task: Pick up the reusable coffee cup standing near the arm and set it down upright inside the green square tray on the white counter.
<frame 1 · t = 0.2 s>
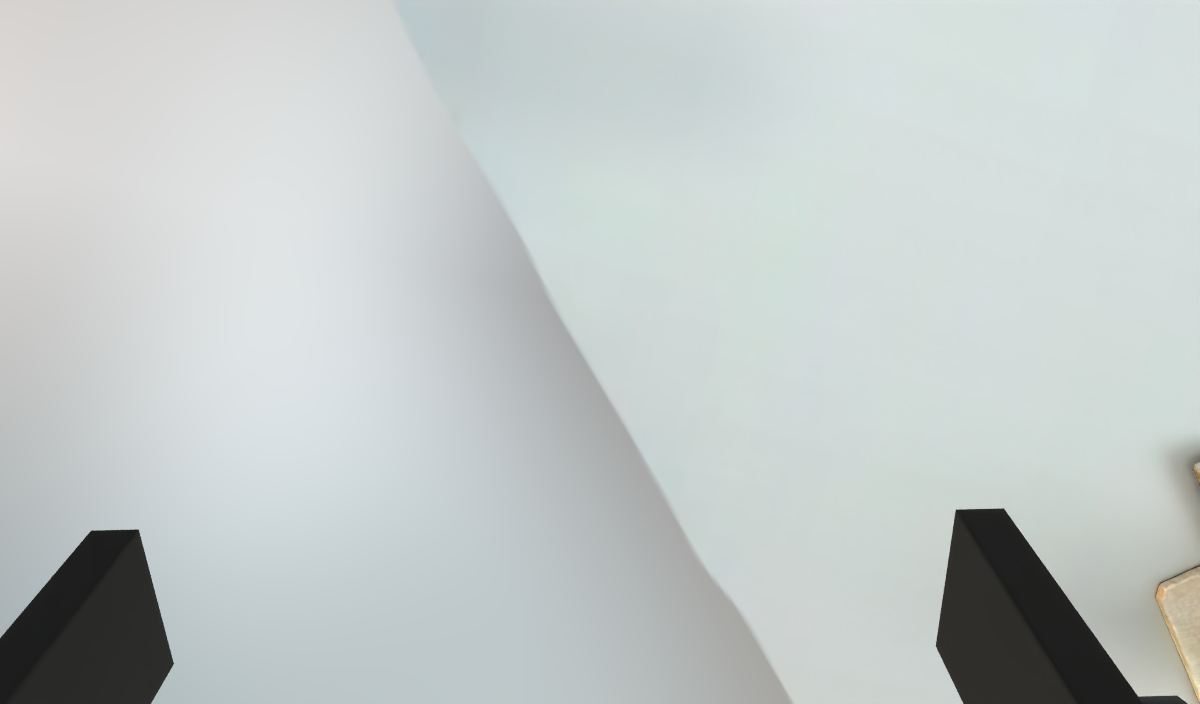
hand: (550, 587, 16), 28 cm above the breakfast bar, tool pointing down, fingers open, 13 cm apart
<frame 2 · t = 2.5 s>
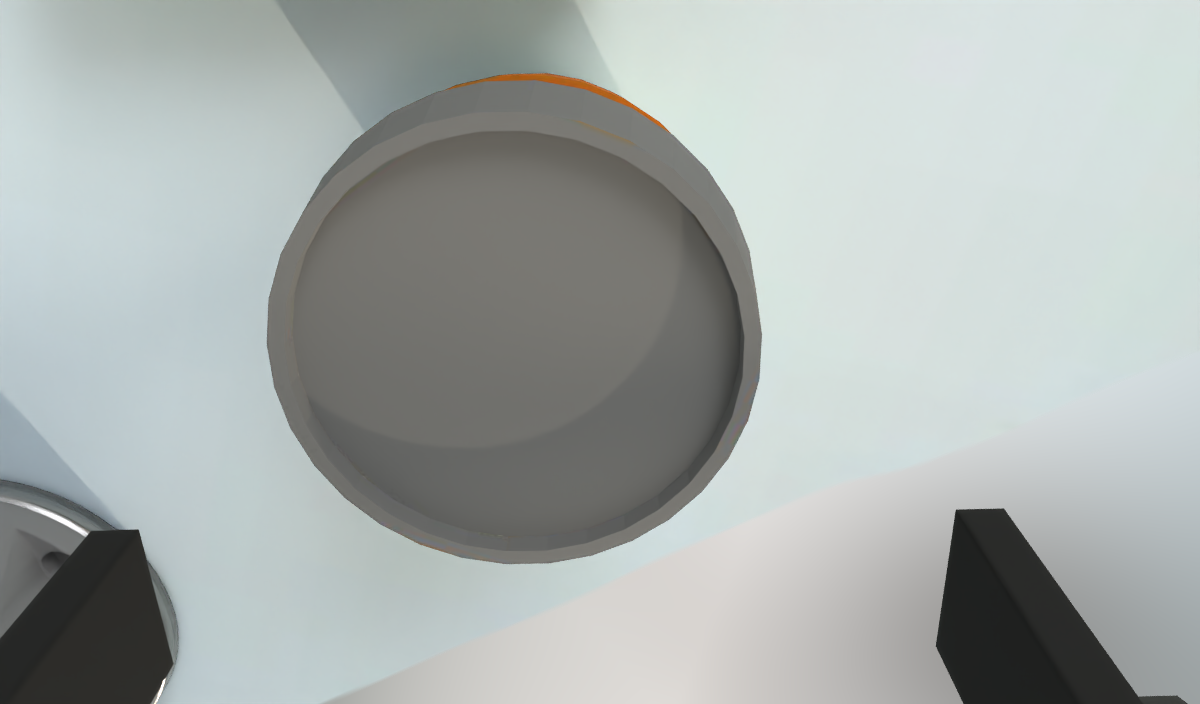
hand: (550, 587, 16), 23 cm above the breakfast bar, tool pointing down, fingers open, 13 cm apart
reusable coffee cup: (545, 200, 37), on the breakfast bar
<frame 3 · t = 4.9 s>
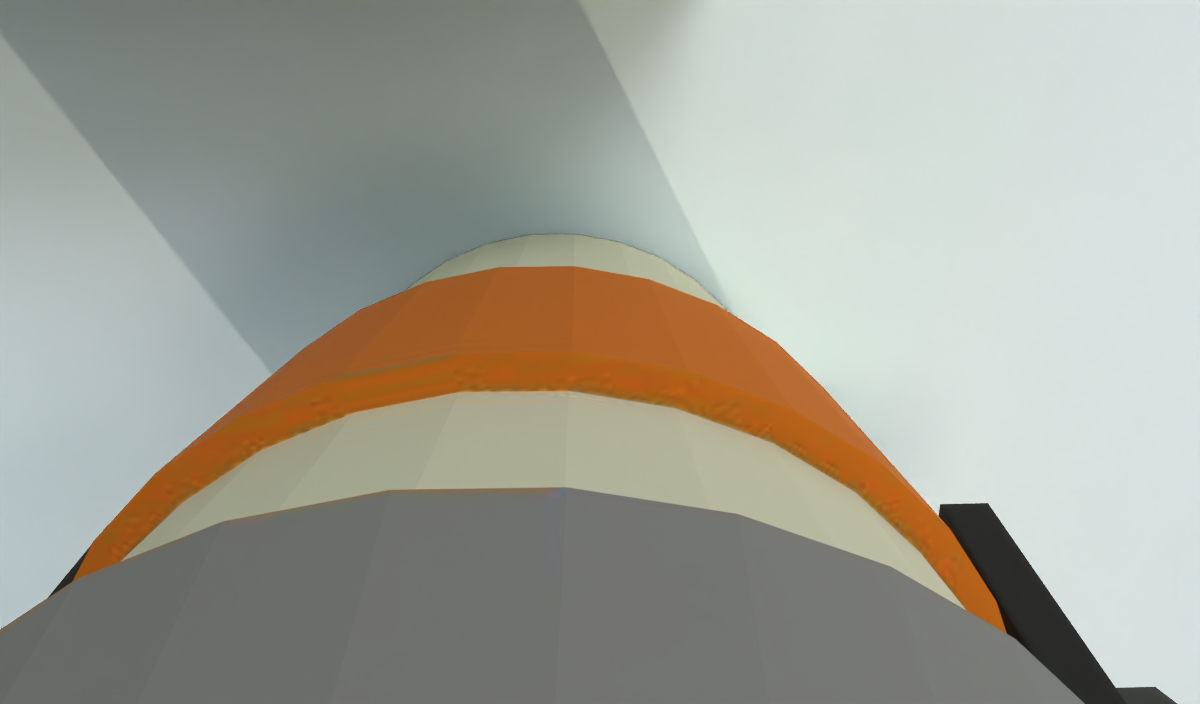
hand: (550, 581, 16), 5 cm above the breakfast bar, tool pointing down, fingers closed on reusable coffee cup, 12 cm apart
reusable coffee cup: (559, 429, 21), on the breakfast bar, touching gripper
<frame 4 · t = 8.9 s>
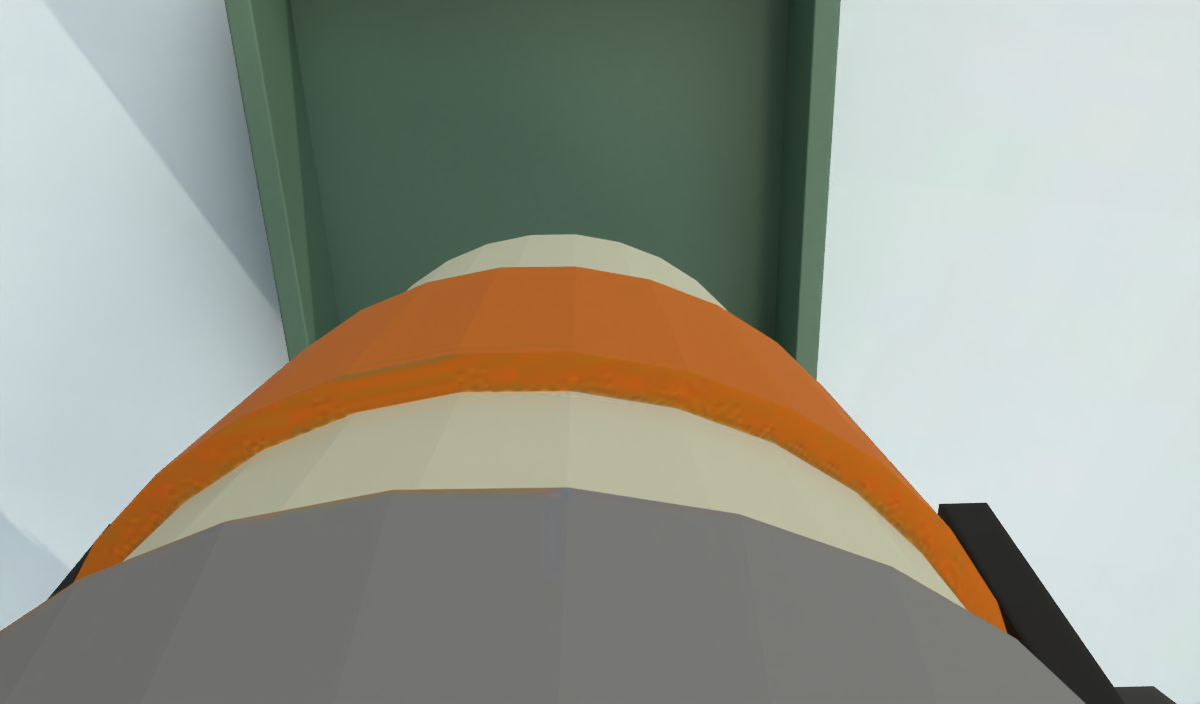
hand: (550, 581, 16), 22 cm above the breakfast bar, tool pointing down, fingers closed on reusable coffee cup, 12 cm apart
reusable coffee cup: (560, 430, 21), point 17 cm above the breakfast bar, touching gripper
green square tray: (549, 161, 35), on the breakfast bar
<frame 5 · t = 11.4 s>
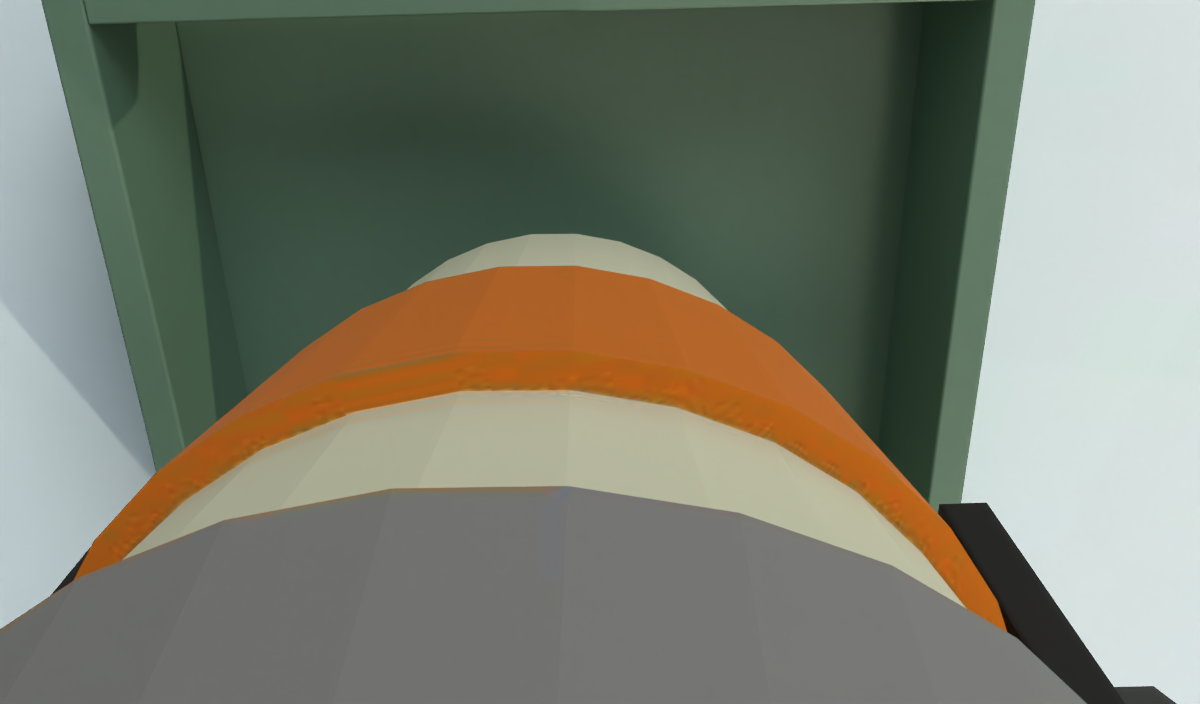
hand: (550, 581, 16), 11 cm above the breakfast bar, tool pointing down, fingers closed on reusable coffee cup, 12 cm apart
reusable coffee cup: (559, 429, 21), point 5 cm above the breakfast bar, touching gripper
green square tray: (565, 336, 25), on the breakfast bar
when the fingers open (6 cm above the breakfast bar, at t = 13.4 s): reusable coffee cup stays where it is, resting on green square tray.
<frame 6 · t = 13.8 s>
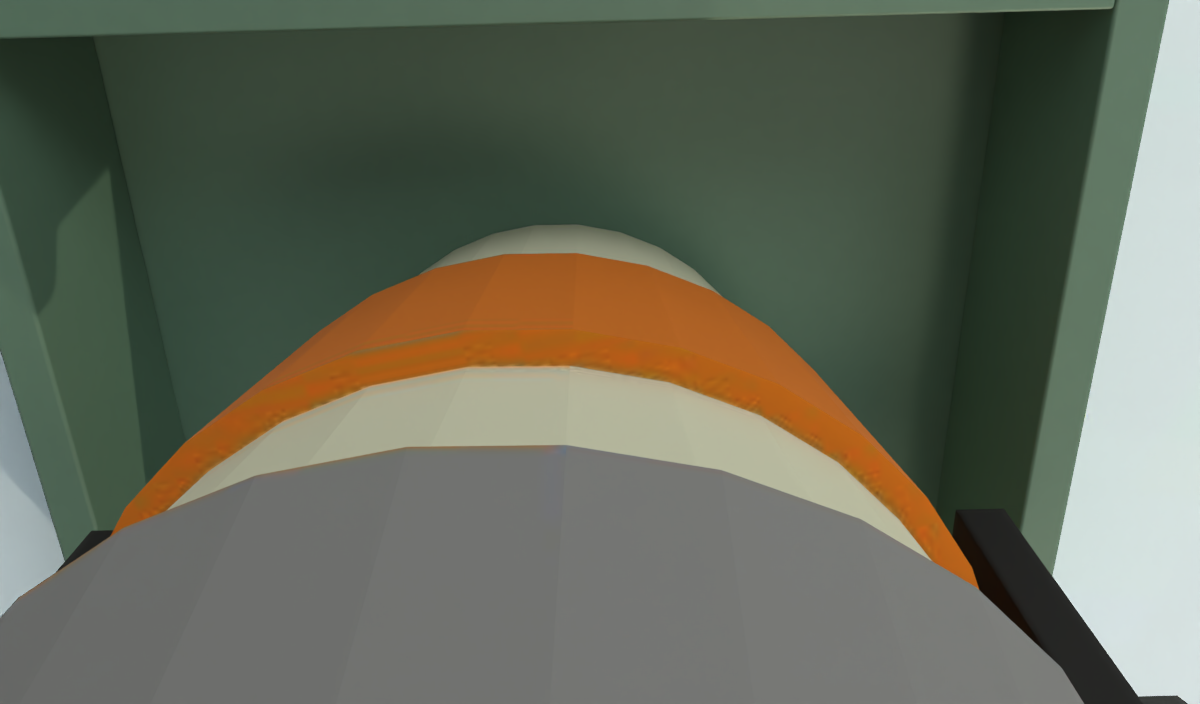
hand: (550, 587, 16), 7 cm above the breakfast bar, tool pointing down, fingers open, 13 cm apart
reusable coffee cup: (562, 414, 21), resting on green square tray
green square tray: (565, 401, 22), on the breakfast bar
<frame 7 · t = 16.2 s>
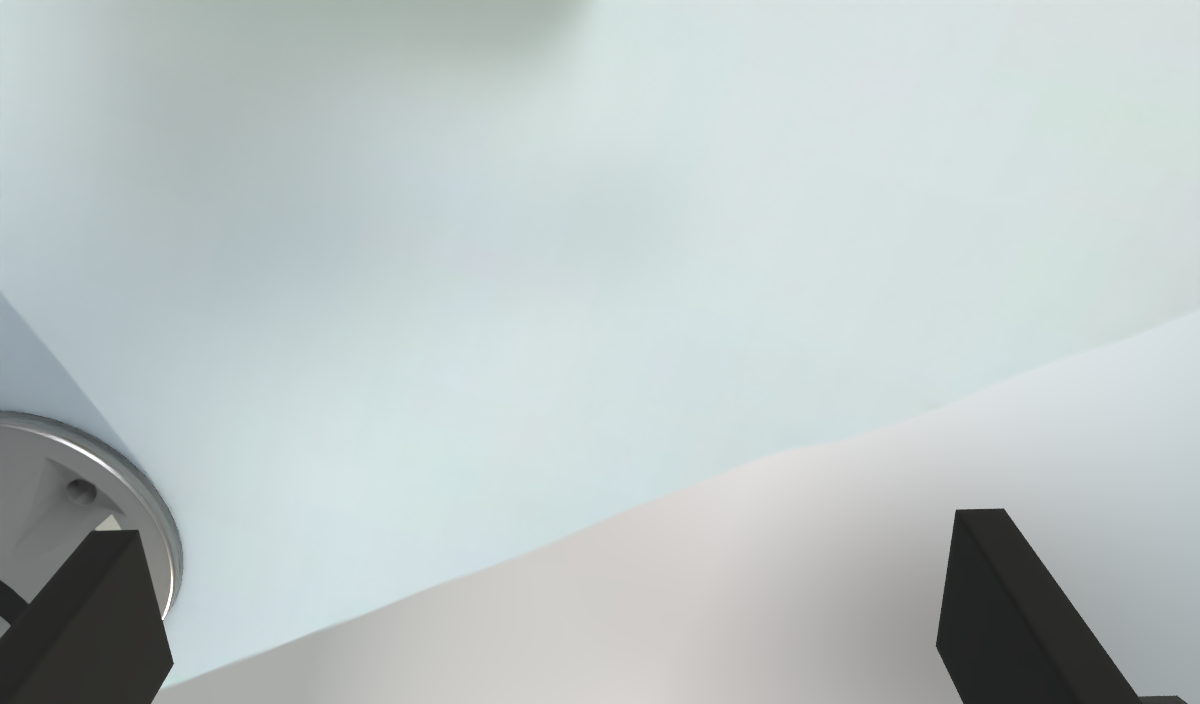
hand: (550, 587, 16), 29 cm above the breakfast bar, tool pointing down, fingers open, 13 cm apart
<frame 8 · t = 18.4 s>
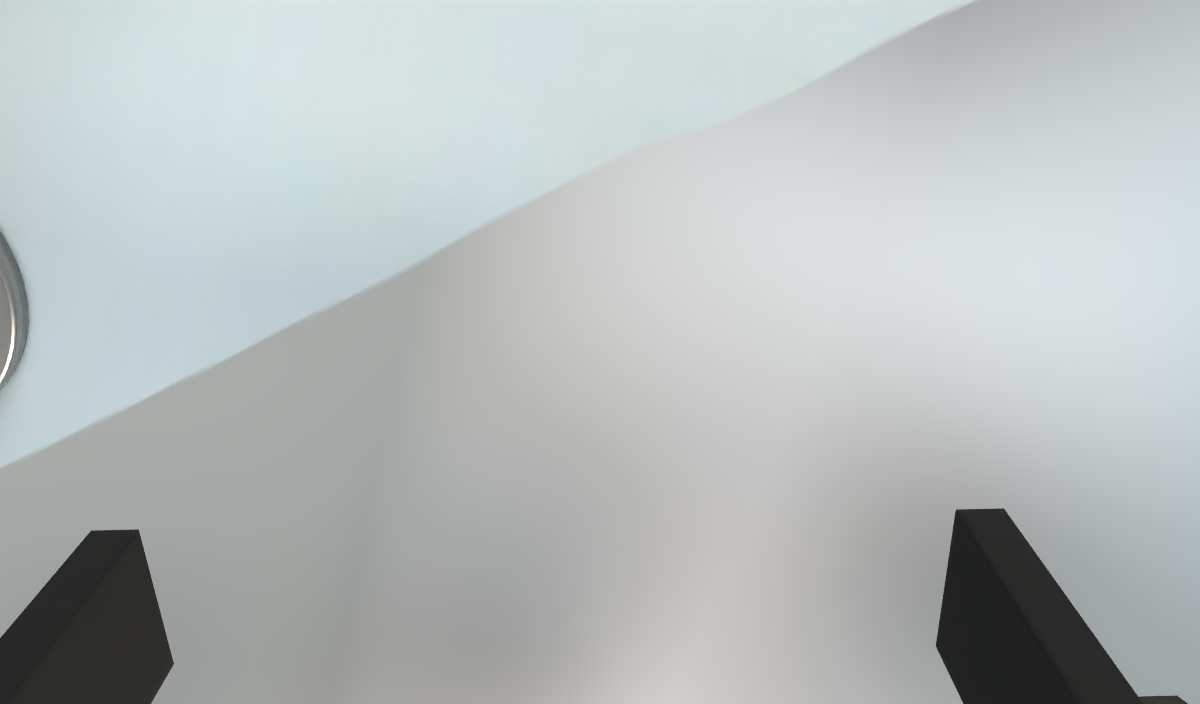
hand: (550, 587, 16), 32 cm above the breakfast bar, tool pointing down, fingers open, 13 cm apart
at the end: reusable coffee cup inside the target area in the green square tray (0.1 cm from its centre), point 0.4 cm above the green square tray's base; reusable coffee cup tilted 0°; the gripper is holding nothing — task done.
